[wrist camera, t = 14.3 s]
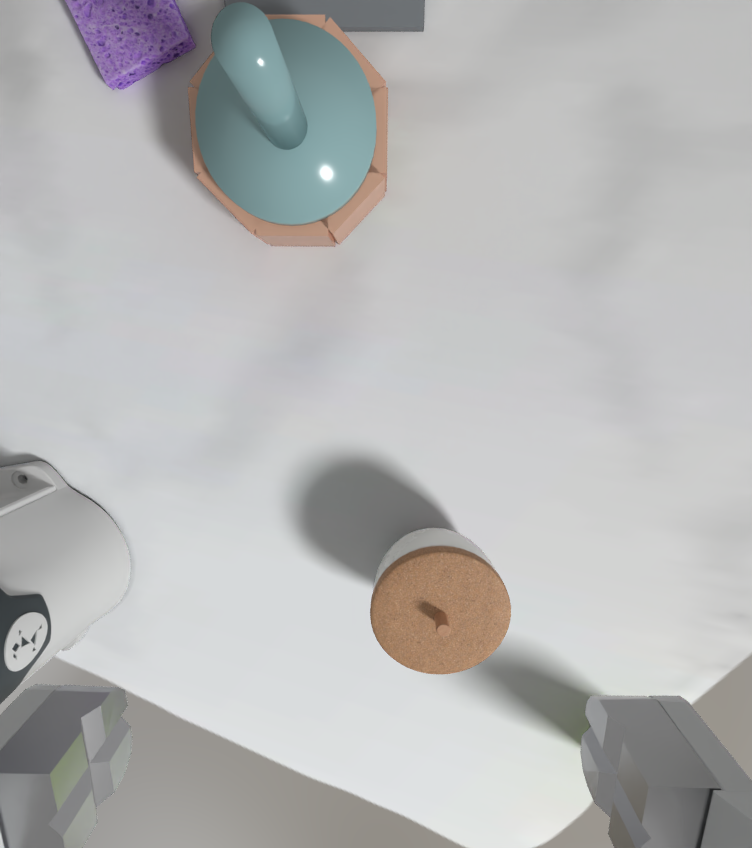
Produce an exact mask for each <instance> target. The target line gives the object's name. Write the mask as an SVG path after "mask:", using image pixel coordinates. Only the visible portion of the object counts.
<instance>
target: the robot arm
mask: <svg viewBox="0 0 752 848" xmlns="http://www.w3.org/2000/svg"><path fill="white" fill-rule="evenodd" d="M24 475H25V476H26V477H27V480H26V479H25V477H24ZM130 575H131V561H130V554H129V550H128V547H127V544H126V542H125V539H124V537H123V535H122V533H121V531H120V530H119V528H118V527H117V525H116V524H115V522H114V521H113V520H112V519H111V518H110V516H109V515H108V514H107V513H106V512H105V511H104V510H103V509H101V508H100V507H99V506H98V505H97V504H95V503H94V502H92V501H91V500H89V499H88V498H86V497H84V496H83V495H81V494H79V493H78V492H76V491H75V490H73V489H72V488H70V487H69V486H68V485H67V484H66V482H65V481H64V480H63V479H62V478H61V476H60V475H59V474H58V473H57V472H56V471H55V470H54V469H53V468H52V467H51V466H50V465H49V464H47V463H45V462H43V461H33V462H28V463H22V464H17V465H11V466H6V467H0V704H1V703H2V702H3V701H4V700H5V699H6V698H7V697H8V696H9V695H10V694H11V693H12V692H13V691H14V690H15V689H16V688H17V687H18V686H19V685H20V684H21V683H23V682H24V681H25V680H26V679H28V678H29V677H30V676H31V675H32V674H34V673H35V672H36V671H37V670H38V669H40V668H41V667H42V666H43V665H44V664H45V663H47V662H48V661H49V660H50V659H51V658H53V657H54V656H55V655H56V654H57V653H58V652H60V651H61V650H62V651H65V650H69V649H71V648H72V647H73V646H75V645H76V644H77V643H78V642H79V641H80V640H81V639H82V638H83V636H84V635H85V633H86V632H87V630H88V628H89V626H90V625H91V624H93V623H94V622H96V621H97V620H99V619H100V618H102V617H103V616H105V615H106V614H107V613H109V612H110V611H111V610H112V609H114V608H115V607H116V606H117V604H118V603H119V602H120V601H121V599H122V598H123V596H124V594H125V592H126V590H127V587H128V584H129V580H130ZM127 706H128V703H127V698H126V693H125V690H124V689H122V688H119V687H103V686H80V685H43V684H35V685H33V686H31V687H29V688H27V689H25V690H24V691H23V692H22V693H21V694H20V695H19V696H18V697H17V698H16V699H15V700H14V701H13V702H12V703H11V704H10V705H9V706H8V707H7V709H6V710H5V711H4V712H3V713H2V714H1V715H0V848H83V847H84V845H85V843H86V841H87V840H88V838H89V836H90V834H91V833H92V831H93V829H94V827H95V826H96V824H97V808H96V807H97V806H98V805H100V804H101V803H102V802H103V801H104V800H106V799H107V798H108V797H109V796H111V795H112V794H113V793H114V792H115V790H116V789H117V787H118V785H119V783H120V781H121V779H122V778H123V776H124V773H125V771H126V767H127V764H128V761H129V758H130V755H131V749H132V731H131V726H130V725H129V724H128V723H127V722H126V721H125V720H124V719H123V718H122V717H121V715H122V714H123V712H124V711H125V709H126V708H127ZM585 715H586V717H587V719H588V721H589V723H590V725H591V727H590V728H589V729H588V730H587V731H586V732H585V733H584V734H583V735H582V741H581V760H582V767H583V773H584V776H585V779H586V783H587V786H588V788H589V791H590V793H591V795H592V798H593V800H594V802H595V804H596V805H597V806H599V807H600V808H601V809H602V810H603V811H604V812H605V813H606V814H607V815H608V816H609V817H610V824H609V832H608V835H609V837H610V839H611V841H612V844H613V846H614V848H752V780H751V779H750V778H749V776H748V775H747V774H746V773H745V772H744V770H743V769H742V768H741V766H740V765H739V764H738V763H737V762H736V760H735V759H734V758H733V757H732V755H731V754H730V753H729V752H728V750H727V749H726V748H725V747H724V745H723V744H722V743H721V742H720V740H719V739H718V738H717V737H716V736H715V734H714V733H713V732H712V731H711V729H710V728H709V727H708V726H707V725H706V723H705V722H704V721H703V719H702V718H701V717H700V716H699V714H698V713H697V712H696V711H695V710H694V709H693V707H692V706H691V705H690V703H689V702H688V701H687V700H685V699H684V698H682V697H681V696H649V697H647V696H592V695H591V696H590V698H589V699H588V701H587V704H586V710H585Z"/></svg>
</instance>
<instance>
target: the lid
mask: <svg viewBox="0 0 752 848" xmlns="http://www.w3.org/2000/svg"><path fill="white" fill-rule="evenodd" d="M211 42H212V48H213V51H214V54H215V55H214V56H213V58H212V59H211V61H210V62H209V64H208V66H207V68H206V70H205V72H204V75H203V77H202V80H201V83H200V86H199V90H198V95H197V100H196V110H195V124H196V133H197V139H198V143H199V147H200V151H201V154H202V157H203V159H204V162H205V164H206V166H207V168H208V170H209V172H210V174H211V176H212V177H213V179H214V180H215V182H216V183H217V185H218V186H219V187H220V188H221V190H222V191H223V192H224V193H225V194H226V195H227V196H228V197H229V198H230V199H231V200H232V201H233V202H234V203H235V204H237V205H238V206H239V207H241V208H242V209H243V210H245V211H246V212H248V213H249V214H251V215H253V216H255V217H257V218H259V219H261V220H264V221H266V222H269V223H273V224H277V225H284V226H301V225H307V224H312V223H315V222H318V221H321V220H324V219H326V218H327V217H329V216H331V215H333V214H335V213H336V212H337V211H339V210H340V209H342V208H343V207H344V206H345V205H346V204H347V203H348V202H349V201H350V200H351V199H352V198H353V197H354V196H355V194H356V193H357V192H358V191H359V189H360V187H361V186H362V184H363V182H364V181H365V179H366V176H367V174H368V172H369V170H370V167H371V164H372V161H373V157H374V152H375V147H376V135H377V128H376V111H375V105H374V99H373V95H372V92H371V89H370V85H369V83H368V81H367V78H366V76H365V74H364V72H363V70H362V68H361V67H360V65H359V63H358V61H357V60H356V59H355V58H354V56H353V55H352V54H351V52H350V51H349V50H348V49H347V48H346V47H345V46H344V45H343V44H342V43H341V42H340V41H339V40H338V39H336V38H335V37H334V36H333V35H331V34H330V33H328V32H326V31H325V30H323V29H321V28H320V27H317V26H315V25H312V24H310V23H307V22H303V21H299V20H295V19H270V20H268V18H267V17H266V16H265V14H264V13H263V12H262V11H261V10H260V9H258V8H257V7H256V6H254V5H252V4H249V3H244V2H237V3H233V4H230V5H228V6H226V7H225V8H224V9H222V10H221V11H220V13H219V14H218V15H217V17H216V19H215V21H214V23H213V26H212V32H211Z"/></svg>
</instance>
